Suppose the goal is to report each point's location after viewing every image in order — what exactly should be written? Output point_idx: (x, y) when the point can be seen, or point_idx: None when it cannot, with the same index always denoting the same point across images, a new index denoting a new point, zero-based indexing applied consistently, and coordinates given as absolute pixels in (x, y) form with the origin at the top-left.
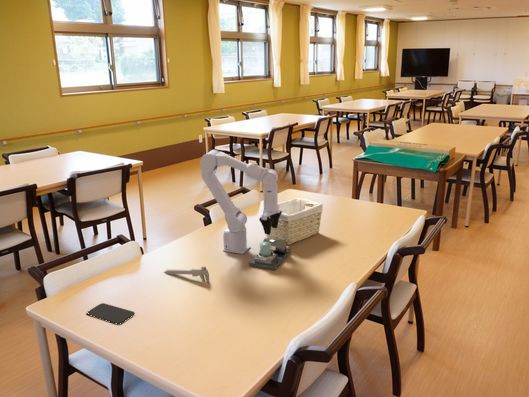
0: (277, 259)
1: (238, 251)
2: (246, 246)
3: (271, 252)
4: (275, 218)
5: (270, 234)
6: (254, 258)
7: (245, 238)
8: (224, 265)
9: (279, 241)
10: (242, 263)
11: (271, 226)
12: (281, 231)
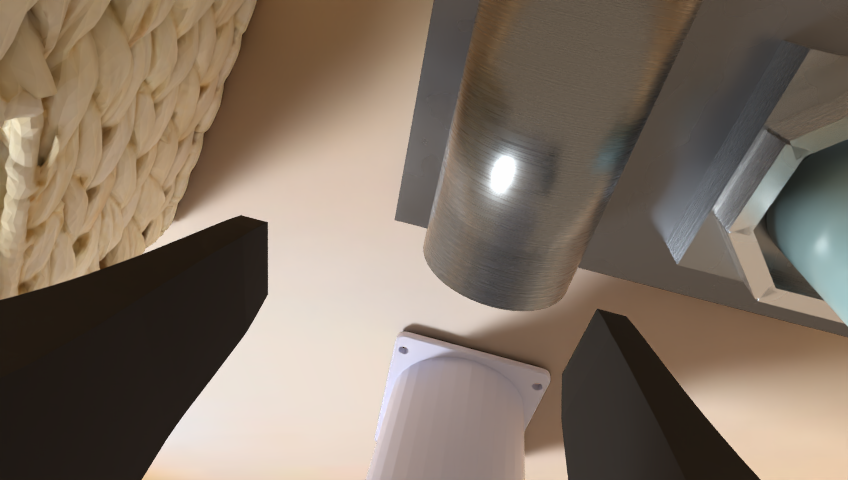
0: (845, 32)
1: (523, 403)
2: (456, 374)
3: (797, 150)
4: (108, 397)
5: (151, 217)
6: (746, 298)
7: (464, 453)
8: (763, 457)
9: (614, 75)
10: (747, 359)
11: (74, 259)
12: (125, 106)
